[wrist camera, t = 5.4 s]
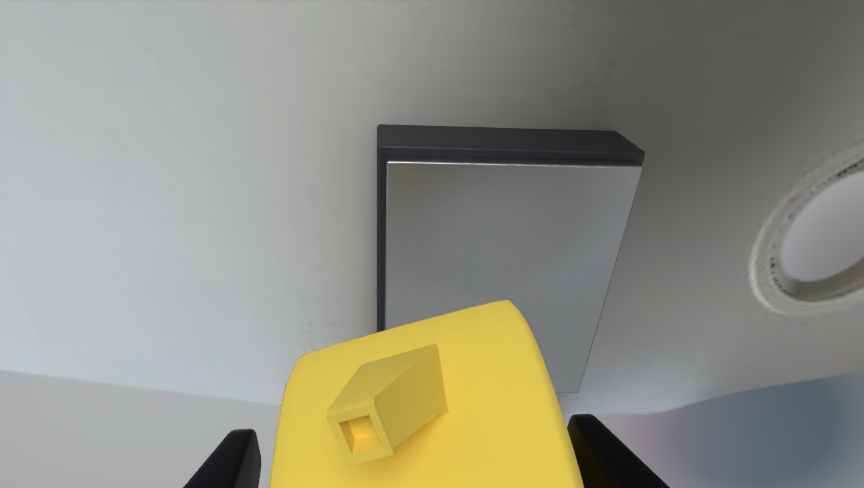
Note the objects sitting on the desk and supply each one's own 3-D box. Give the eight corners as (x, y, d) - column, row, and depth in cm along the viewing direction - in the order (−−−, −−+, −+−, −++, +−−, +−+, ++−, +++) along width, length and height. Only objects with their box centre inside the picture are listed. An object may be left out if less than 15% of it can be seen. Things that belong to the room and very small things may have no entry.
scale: (560, 355, 24) (582, 402, 21) (377, 359, 23) (376, 409, 20) (616, 130, 18) (655, 158, 16) (377, 123, 17) (376, 151, 15)
